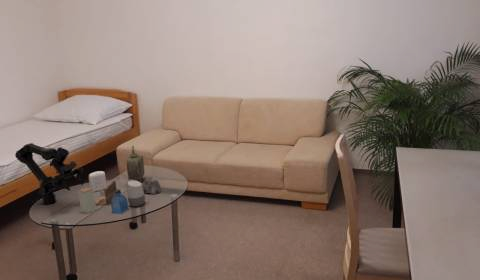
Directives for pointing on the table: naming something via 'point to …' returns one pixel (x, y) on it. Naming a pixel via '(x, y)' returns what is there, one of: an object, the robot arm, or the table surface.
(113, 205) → the perfume bottle
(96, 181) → the photo printer
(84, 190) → the cabinet block
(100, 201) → the cleat board
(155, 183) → the mineral rock
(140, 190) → the smart speaker
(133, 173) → the green spouted canister
